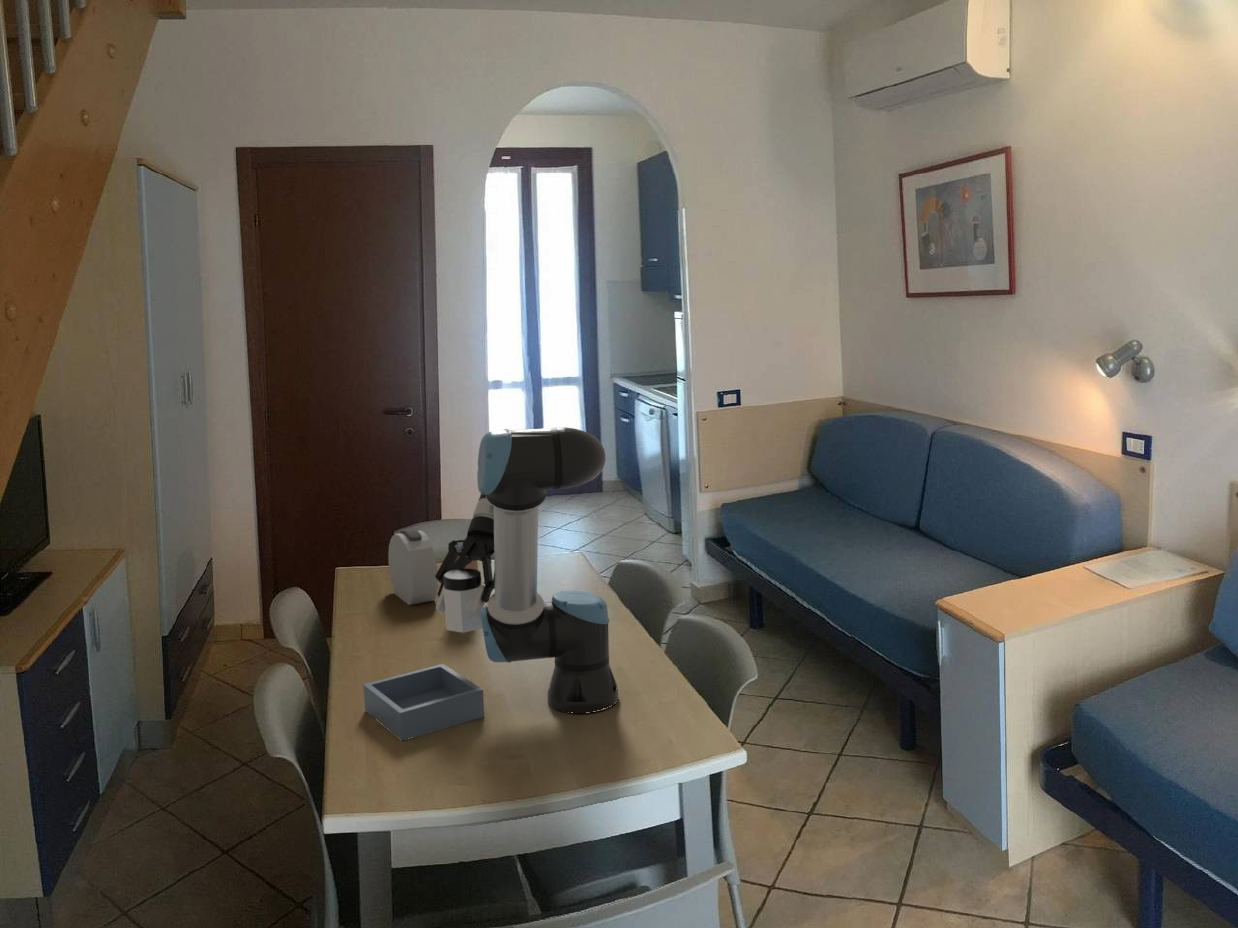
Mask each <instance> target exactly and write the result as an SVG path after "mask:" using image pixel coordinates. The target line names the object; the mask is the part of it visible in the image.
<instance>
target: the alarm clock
mask: <svg viewBox="0 0 1238 928" xmlns="http://www.w3.org/2000/svg"><path fill="white" fill-rule="evenodd" d="M387 557H388V570H389V576H390V582H391V585H392V589H393V593H394V594H395V595H396V596H397V597H398V598H399V599H401V600H402V601H403V602H404V603H406V604H407V605H408V606H413V605H414V606H415V605H418V604H424V603H430V602H435V600H436V599H437V596H438V591H439V589H438V588H439V581H438V580H437V579H436V578H435V575H436V574H437V572H438V563H437V558H436V554H435V551H434V548H433V546H432V543H431V540H430V539H429V537H428V535H427V534H426V532H424V531H423V530H417V529H415V528H406V529H401V530H399V533H395V534H394V535H392V536H391V538H390V540H389V545H388V556H387Z"/></svg>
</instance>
